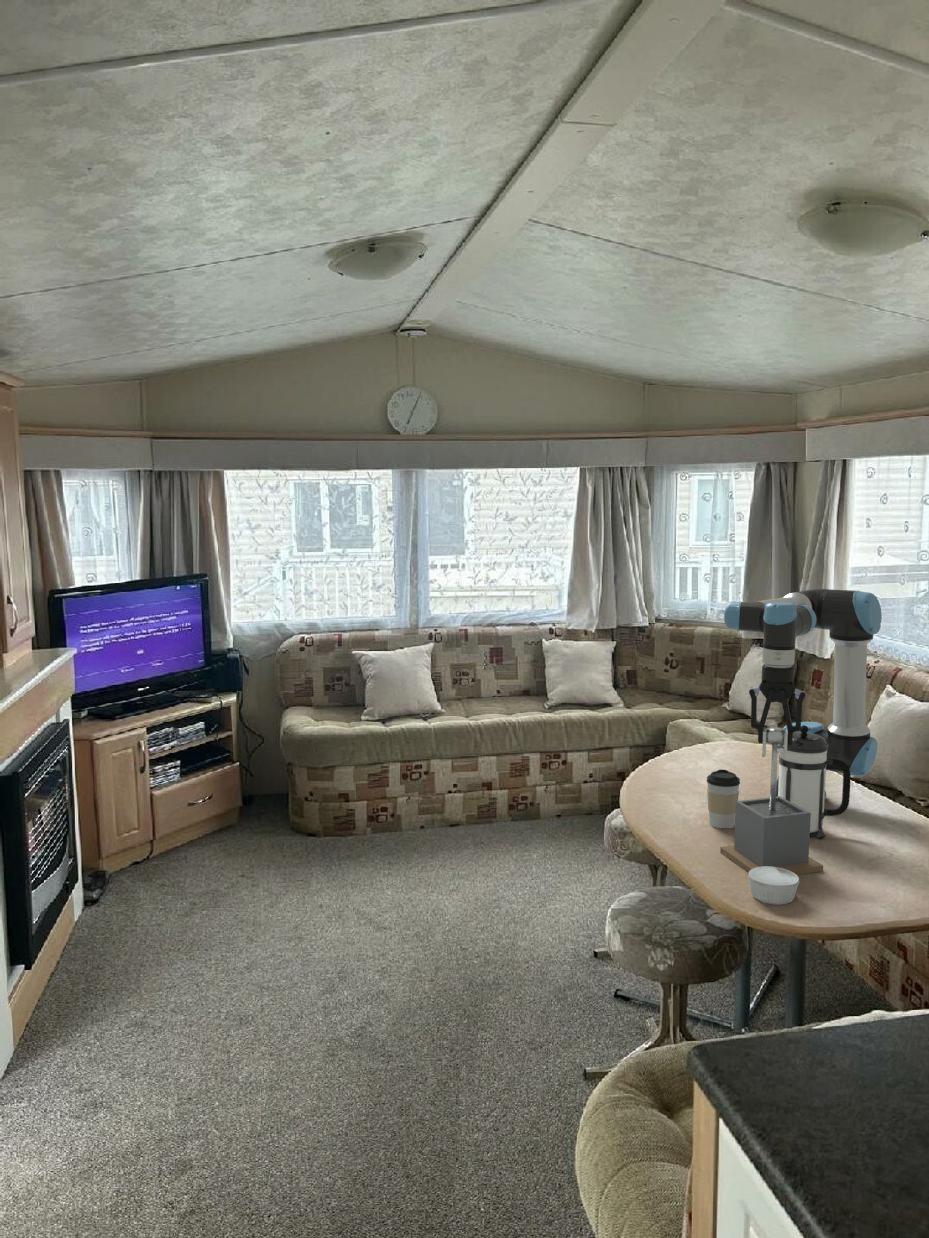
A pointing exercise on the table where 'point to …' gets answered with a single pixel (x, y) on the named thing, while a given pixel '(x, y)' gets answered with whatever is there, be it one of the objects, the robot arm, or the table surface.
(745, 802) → the square grey bin
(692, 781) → the table surface
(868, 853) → the table surface
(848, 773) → the coffee press
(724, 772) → the coffee cup
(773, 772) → the plunger
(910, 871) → the table surface
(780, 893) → the ramekin
